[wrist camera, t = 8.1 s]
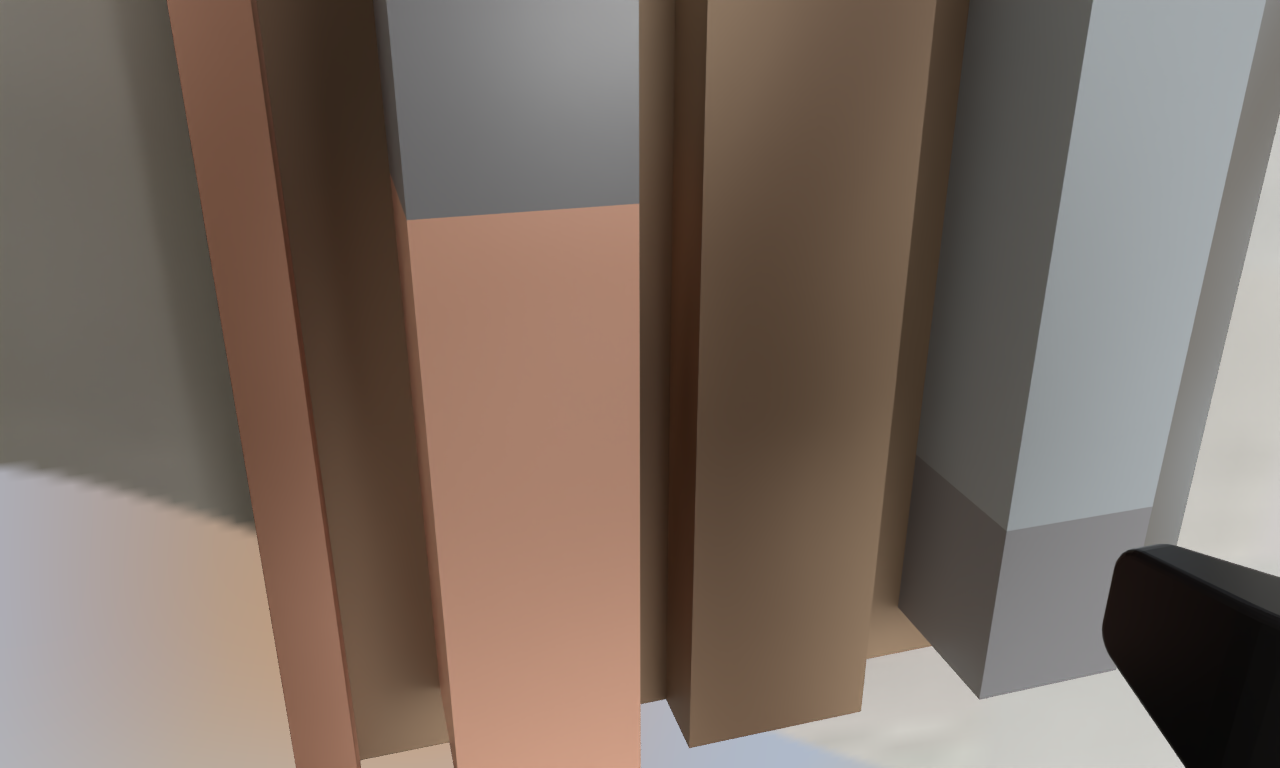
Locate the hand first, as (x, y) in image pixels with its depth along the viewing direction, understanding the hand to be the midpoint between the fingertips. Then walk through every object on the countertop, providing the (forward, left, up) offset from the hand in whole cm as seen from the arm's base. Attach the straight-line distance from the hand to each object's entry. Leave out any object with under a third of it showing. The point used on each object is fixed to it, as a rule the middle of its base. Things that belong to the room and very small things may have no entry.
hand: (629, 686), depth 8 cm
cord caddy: (-4, 0, -8) cm, 9 cm away
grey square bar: (-8, 0, -7) cm, 11 cm away
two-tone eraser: (0, 0, -7) cm, 7 cm away
